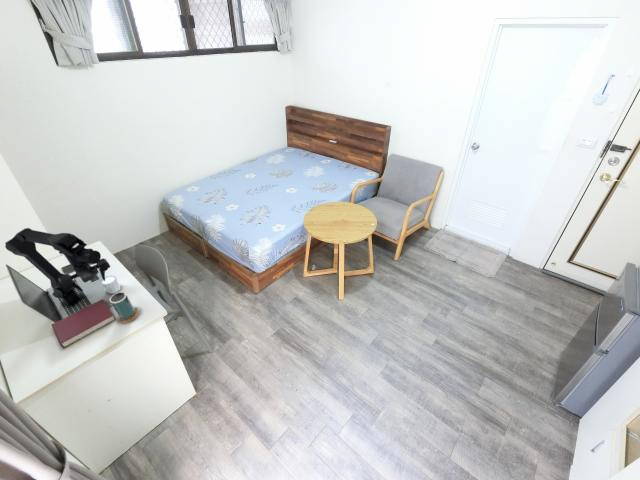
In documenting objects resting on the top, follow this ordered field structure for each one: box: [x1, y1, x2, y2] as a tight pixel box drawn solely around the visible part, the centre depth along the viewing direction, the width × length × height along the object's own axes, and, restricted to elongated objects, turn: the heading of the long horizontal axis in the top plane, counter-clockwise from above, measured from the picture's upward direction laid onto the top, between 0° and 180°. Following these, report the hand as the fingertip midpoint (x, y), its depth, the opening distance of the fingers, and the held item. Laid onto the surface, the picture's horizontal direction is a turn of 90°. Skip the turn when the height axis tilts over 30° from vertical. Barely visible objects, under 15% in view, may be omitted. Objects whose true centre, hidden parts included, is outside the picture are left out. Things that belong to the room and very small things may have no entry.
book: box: [51, 298, 117, 349], centre depth 139 cm, size 15×21×3 cm
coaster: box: [117, 307, 140, 324], centre depth 144 cm, size 9×9×1 cm
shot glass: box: [100, 275, 121, 295], centre depth 155 cm, size 7×7×7 cm
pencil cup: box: [109, 291, 136, 320], centre depth 140 cm, size 13×7×13 cm
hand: (93, 285), depth 142 cm, fingers open, 9 cm apart
